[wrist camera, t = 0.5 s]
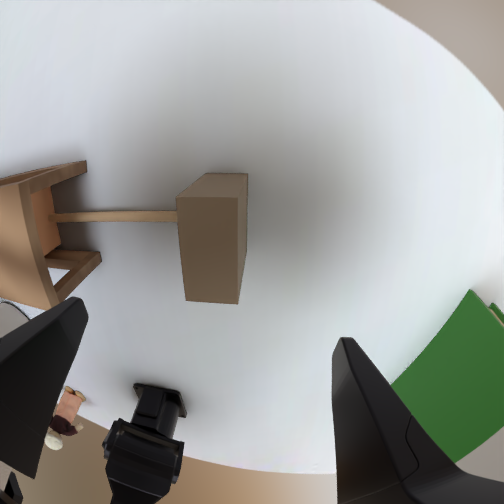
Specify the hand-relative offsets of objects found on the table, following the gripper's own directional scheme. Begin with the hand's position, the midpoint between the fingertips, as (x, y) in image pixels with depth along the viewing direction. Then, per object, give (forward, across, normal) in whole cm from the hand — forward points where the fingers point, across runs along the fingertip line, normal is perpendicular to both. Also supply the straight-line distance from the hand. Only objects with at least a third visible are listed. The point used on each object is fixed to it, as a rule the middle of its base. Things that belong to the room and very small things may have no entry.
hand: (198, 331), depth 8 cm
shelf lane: (+12, +21, +3) cm, 24 cm away
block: (+12, +12, +2) cm, 17 cm away
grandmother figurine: (+9, +27, +35) cm, 45 cm away
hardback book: (+13, -26, +16) cm, 33 cm away
